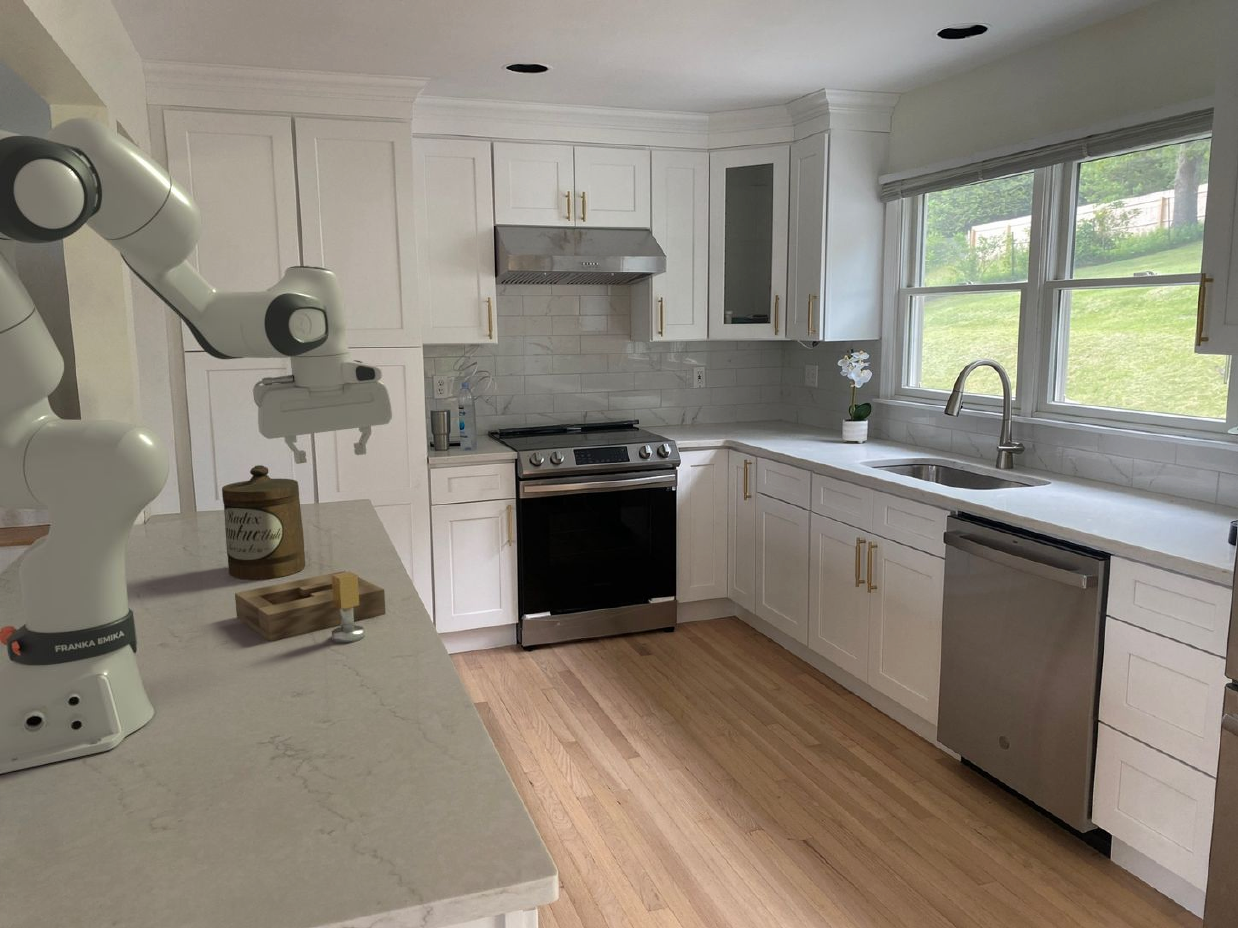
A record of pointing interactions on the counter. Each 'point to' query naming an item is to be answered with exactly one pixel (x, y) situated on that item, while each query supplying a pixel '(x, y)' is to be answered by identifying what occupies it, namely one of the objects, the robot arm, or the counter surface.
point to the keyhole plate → (302, 606)
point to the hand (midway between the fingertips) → (331, 458)
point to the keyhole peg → (346, 607)
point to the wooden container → (263, 527)
